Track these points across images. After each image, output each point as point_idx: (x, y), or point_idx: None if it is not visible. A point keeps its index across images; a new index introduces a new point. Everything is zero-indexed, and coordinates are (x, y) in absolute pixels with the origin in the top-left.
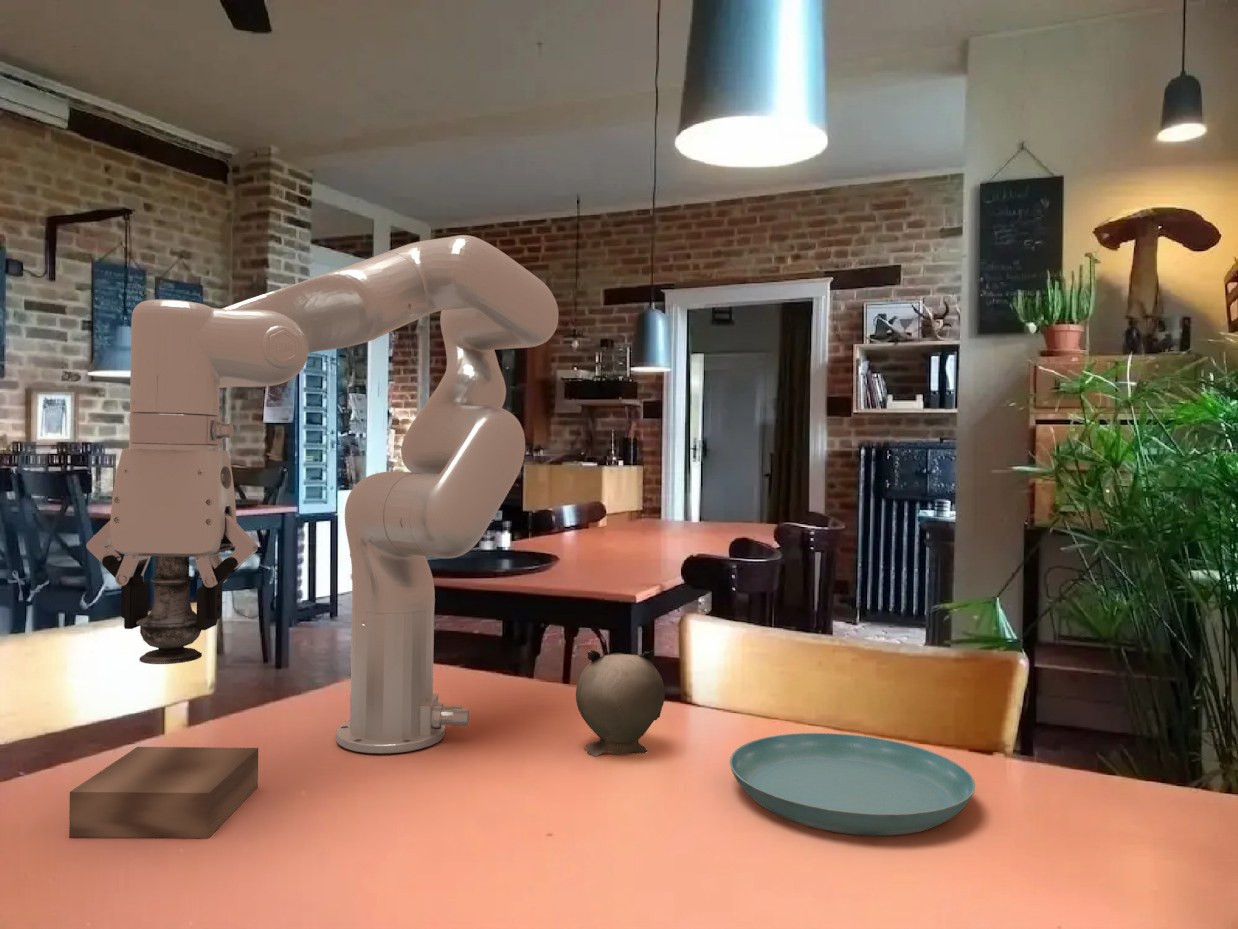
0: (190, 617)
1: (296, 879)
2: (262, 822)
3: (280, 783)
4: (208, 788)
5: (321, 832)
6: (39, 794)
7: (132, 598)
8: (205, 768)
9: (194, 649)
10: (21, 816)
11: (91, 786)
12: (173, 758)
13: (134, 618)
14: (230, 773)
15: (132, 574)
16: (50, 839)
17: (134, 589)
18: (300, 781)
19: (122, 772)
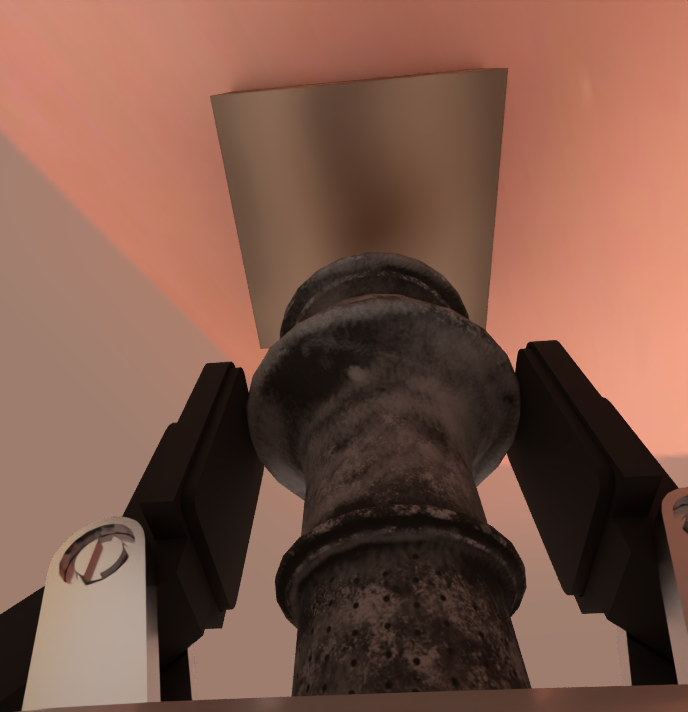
0: (479, 456)
1: (612, 392)
2: (534, 239)
3: (526, 32)
4: (477, 316)
5: (635, 266)
6: (80, 154)
7: (241, 566)
8: (434, 224)
9: (434, 301)
10: (139, 252)
11: (278, 325)
12: (340, 171)
13: (256, 479)
14: (492, 244)
15: (192, 676)
16: (249, 321)
17: (234, 599)
18: (569, 12)
19: (286, 260)
